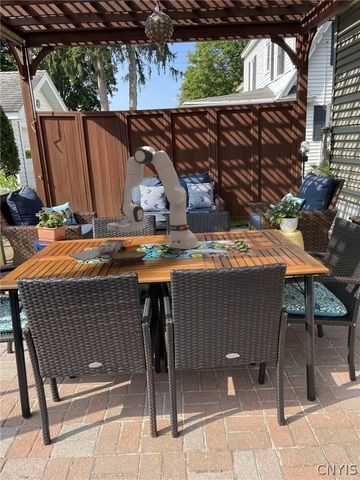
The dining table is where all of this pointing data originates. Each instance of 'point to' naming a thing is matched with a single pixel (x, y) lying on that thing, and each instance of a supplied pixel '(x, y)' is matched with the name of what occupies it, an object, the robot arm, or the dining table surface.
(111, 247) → the candy bar box
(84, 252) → the grey mat
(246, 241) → the dining table surface
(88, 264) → the dining table surface
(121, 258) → the oil lamp
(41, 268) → the dining table surface
